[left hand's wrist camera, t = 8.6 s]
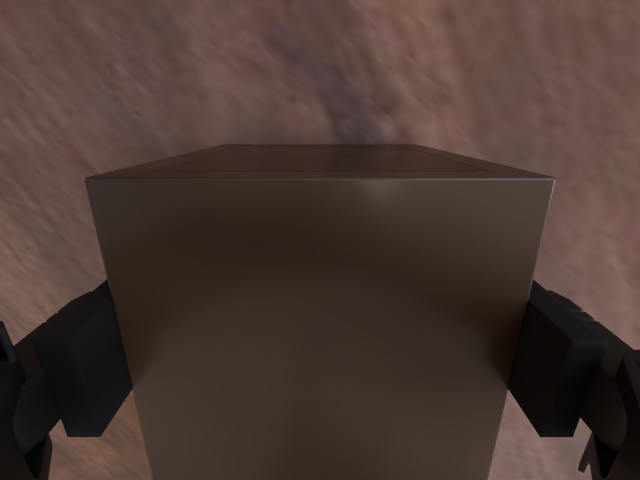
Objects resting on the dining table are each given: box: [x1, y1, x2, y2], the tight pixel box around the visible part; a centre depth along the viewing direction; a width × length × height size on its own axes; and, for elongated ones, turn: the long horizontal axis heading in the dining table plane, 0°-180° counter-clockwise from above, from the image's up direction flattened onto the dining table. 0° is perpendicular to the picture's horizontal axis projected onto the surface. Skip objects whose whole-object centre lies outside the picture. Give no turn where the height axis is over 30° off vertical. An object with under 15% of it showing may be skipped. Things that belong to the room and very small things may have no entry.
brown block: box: [85, 145, 555, 480], centre depth 16 cm, size 21×10×11 cm, turn 0°
